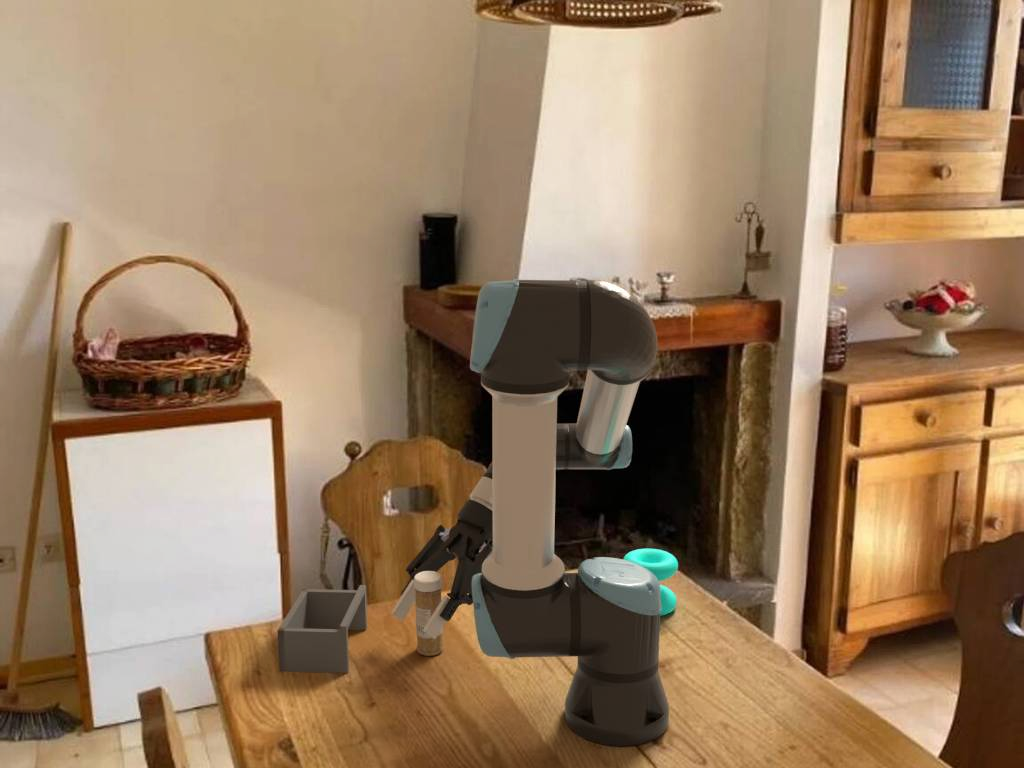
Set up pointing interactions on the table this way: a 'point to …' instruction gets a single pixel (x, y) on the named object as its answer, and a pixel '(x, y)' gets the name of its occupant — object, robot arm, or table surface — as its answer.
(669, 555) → the donuts
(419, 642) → the sprinkles bottle
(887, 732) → the table surface
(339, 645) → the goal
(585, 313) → the robot arm
